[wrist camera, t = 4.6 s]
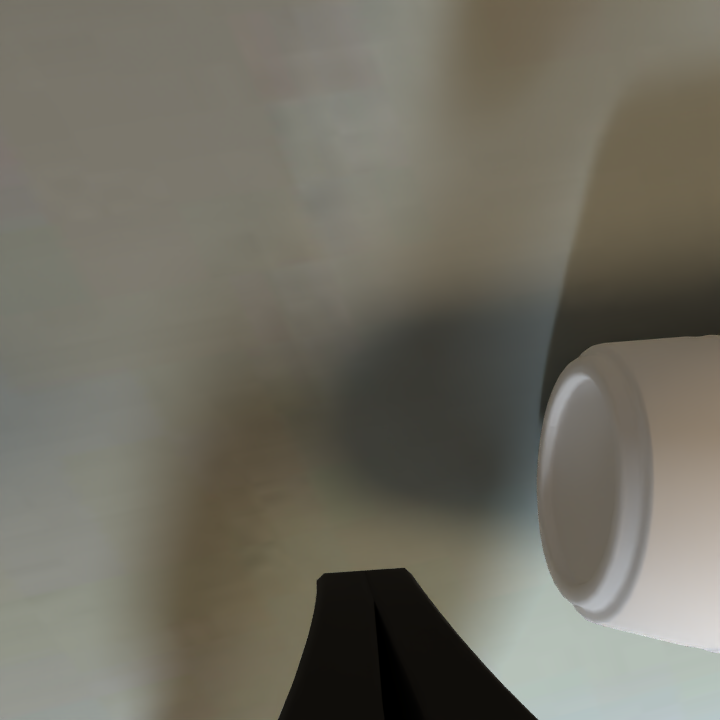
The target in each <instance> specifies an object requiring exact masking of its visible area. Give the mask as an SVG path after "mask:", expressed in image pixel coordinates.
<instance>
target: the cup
mask: <svg viewBox="0 0 720 720" xmlns="http://www.w3.org/2000/svg"><path fill="white" fill-rule="evenodd" d="M537 506H538V519H539V528H540V535H541V541H542V546H543V551H544V555H545V559H546V562H547V566H548V569H549V571H550V574H551V576H552V579H553V581H554V583H555V585H556V586H557V588H558V590H559V591H560V593H561V594H562V596H563V597H564V598H566V599H567V600H568V601H569V602H570V603H571V604H572V605H573V606H574V608H575V609H576V611H577V612H578V613H579V614H581V615H582V616H583V617H584V618H585V619H586V620H587V621H590V622H592V623H595V624H598V625H602V626H606V627H610V628H614V629H618V630H622V631H626V632H630V633H634V634H638V635H642V636H646V637H651V638H655V639H659V640H663V641H667V642H671V643H675V644H679V645H683V646H687V647H696V648H701V649H704V650H707V651H710V652H713V653H720V335H705V336H700V337H689V336H685V337H673V338H660V339H648V340H636V341H623V342H611V343H602V344H597V345H593V346H591V347H590V348H588V349H587V350H585V351H584V352H583V353H582V354H581V355H580V356H579V357H578V358H577V359H575V360H574V361H572V362H571V363H569V364H568V365H567V366H566V368H565V369H564V370H563V371H562V373H561V374H560V376H559V377H558V379H557V381H556V383H555V385H554V387H553V390H552V393H551V395H550V398H549V401H548V404H547V408H546V412H545V416H544V420H543V425H542V431H541V436H540V444H539V453H538V466H537Z"/></svg>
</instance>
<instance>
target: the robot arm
mask: <svg viewBox="0 0 720 720" xmlns="http://www.w3.org/2000/svg"><path fill="white" fill-rule="evenodd" d="M278 720H538V719H537V718H536V717H535V716H534V715H533V714H532V713H531V712H530V711H529V710H528V709H527V708H526V707H525V706H524V705H523V704H522V703H521V702H520V701H519V700H518V699H517V698H516V697H515V696H514V695H513V694H512V693H511V692H510V691H509V690H508V689H507V688H506V687H505V686H504V685H503V684H502V683H501V682H500V681H499V680H498V679H497V678H496V677H495V676H494V674H493V673H492V672H491V671H490V670H489V669H488V668H487V667H486V666H485V665H484V663H483V662H482V661H481V660H480V659H479V658H478V657H477V656H476V654H475V653H474V652H473V651H472V650H471V649H470V648H469V647H468V645H467V644H466V643H465V642H464V641H463V640H462V639H461V637H460V636H459V635H458V634H457V633H456V631H455V630H454V629H453V628H452V627H451V625H450V624H449V623H448V622H447V620H446V619H445V618H444V617H443V615H442V614H441V613H440V612H439V610H438V609H437V608H436V607H435V605H434V604H433V603H432V601H431V600H430V599H429V598H428V596H427V595H426V594H425V592H424V591H423V590H422V588H421V587H420V585H419V584H418V583H417V581H416V580H415V578H414V577H413V576H412V574H411V573H410V572H409V571H407V570H406V569H405V568H396V569H381V570H367V571H353V572H338V573H324V574H323V575H322V576H321V577H320V578H319V579H318V580H317V595H316V603H315V609H314V614H313V619H312V623H311V627H310V631H309V635H308V638H307V641H306V645H305V648H304V651H303V654H302V657H301V660H300V663H299V667H298V670H297V673H296V676H295V679H294V681H293V684H292V687H291V689H290V692H289V694H288V697H287V699H286V701H285V704H284V706H283V709H282V711H281V714H280V716H279V719H278Z"/></svg>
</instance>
